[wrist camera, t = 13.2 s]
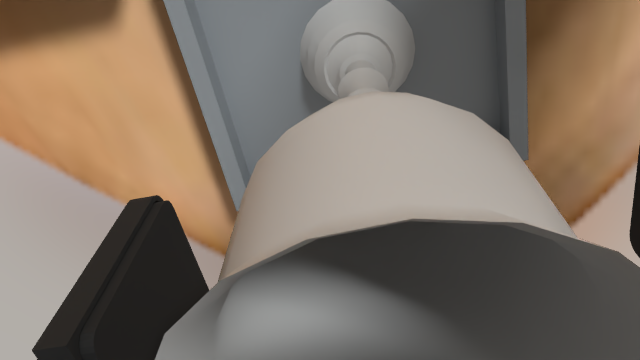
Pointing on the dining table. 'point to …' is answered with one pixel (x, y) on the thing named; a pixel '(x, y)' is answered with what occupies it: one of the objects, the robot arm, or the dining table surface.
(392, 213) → the chalice
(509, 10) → the tray
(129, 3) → the dining table surface
